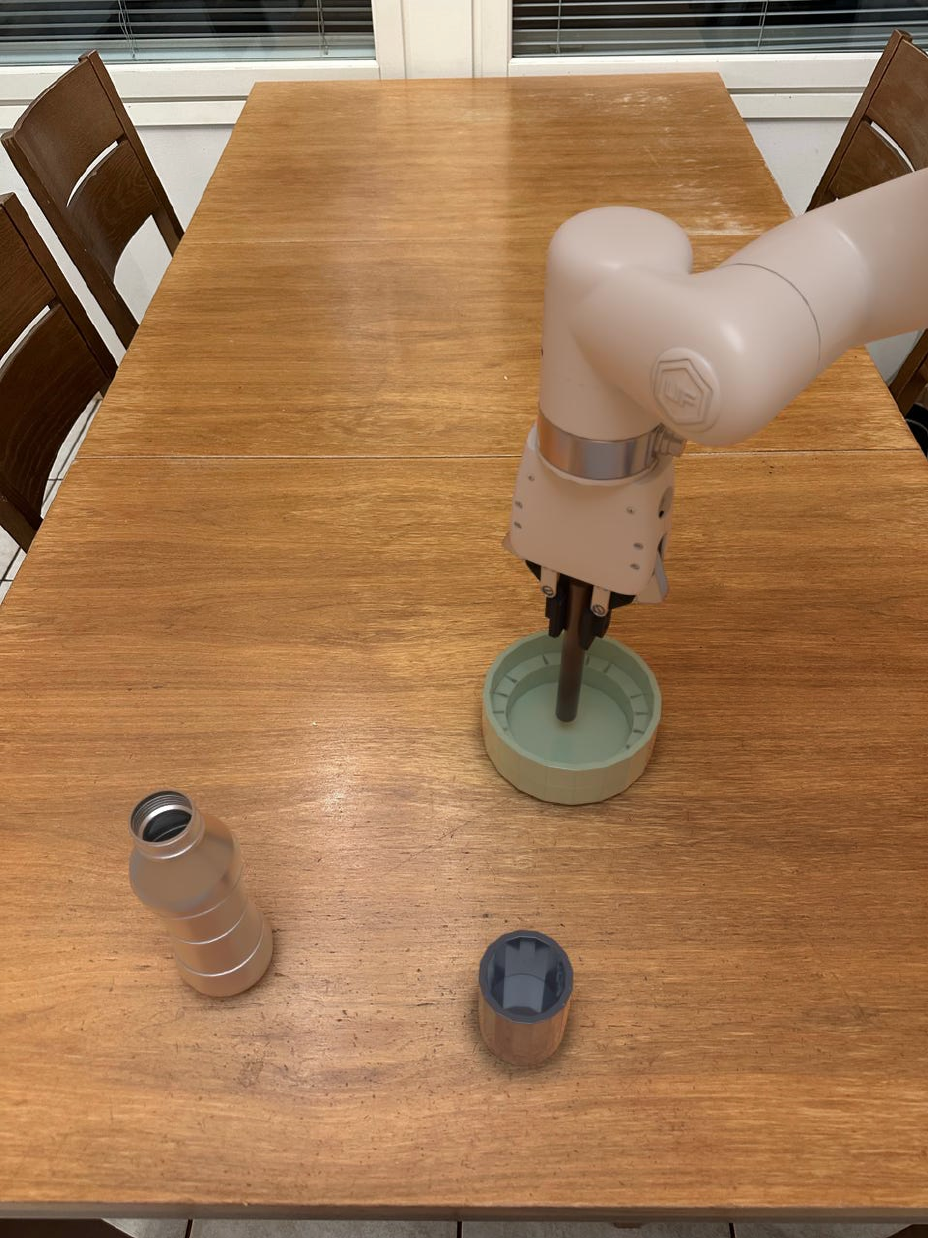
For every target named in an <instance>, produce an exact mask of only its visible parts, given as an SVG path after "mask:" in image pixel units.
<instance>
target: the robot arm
mask: <svg viewBox="0 0 928 1238" xmlns="http://www.w3.org/2000/svg"><path fill="white" fill-rule="evenodd" d="M690 240H691V239H690V238H689V236H688V234H687V232H686V231H685V230H684V229H683V228H682V227H681V226H680V225H679V224H677V222H676V221H674V220H673V219H671V218H670V217H668V216H666V215H664V214H662V213H660V212H657V211H654V210H651V209H646V208H641V207H637V206H628V205H626V206H625V205H607V206H599V207H594V208H590V209H587V210H583V211H581V212H578V213H577V214H575V215H573V216H571V217H569V218H568V219H566V220H565V221H564V222H563V223H562V224H561V225H560V226H559V227H558V228H557V229H556V231H555V232H554V234H553V235H552V237H551V240H550V242H549V245H548V248H547V254H546V263H545V274H544V275H545V277H544V295H543V311H542V326H541V327H542V328H541V329H542V330H541V344H540V345H541V346H540V362H539V363H540V364H539V381H538V382H539V383H538V397H537V398H538V400H537V418H536V420H535V422H534V423H533V426H532V427H531V429H530V431H528V434H527V437H526V440H525V443H524V447H523V449H522V452H521V457H520V460H519V464H518V469H517V472H516V476H515V477H516V478H515V483H514V487H513V493H512V499H511V506H510V507H511V508H510V514H509V529H508V531H507V533H506V535H505V536H504V538H503V539H502V541H501V546H502V547H503V548H504V550H506V551H508V552H509V553H510V554H511V555H513V556H514V557H516V558H518V559H519V560H521V561H525V566H527V568H528V569H529V571H530V572H531V573H532V574H533V575H534V576H535V578H536V579H537V580H538V581H539V585H540V587H539V590H540V592H541V594H542V595H544V596H545V607H544V608H545V611H544V617H545V618H547V619H549V622H548V630H549V631H548V636H550V637H553V638H556V637H559V636H560V634H561V632H562V631H563V629H564V623H565V613H566V603H567V594H568V584H569V576H571V577H573V578H576V579H579V580H582V581H585V582H587V583H590V584H593V585H594V588H593V595H592V598H591V600H590V602H589V603H588V605H587V606H586V608H585V610H584V611H583V614H582V621H581V629H580V637H579V646H580V648H581V649H584V650H586V651H588V649H589V648H590V646H591V644H592V642H593V641H594V639H595V637H599V638H601V639H602V638H603V637H604V635H606V633H607V631H608V630H609V626H610V623H611V618H612V611H613V610H615V609H618V608H622V607H625V606H627V605H631V604H632V603H633V602H636V603H638V604H648V605H661V604H663V603H664V601H665V599H666V598H667V595H668V593H669V591H670V585H669V582H668V578H667V573H666V571H665V567H664V563H663V562H664V561H665V558H666V556H667V552H668V549H669V545H670V540H671V535H672V527H673V516H674V505H675V488H676V487H675V485H676V476H675V475H676V472H675V459H674V458H675V457H676V458H679V459H680V458H681V457H682V456H683V455H684V452H685V449H686V446H687V443H688V441H690V442H693V443H696V444H699V445H701V446H704V447H709V448H710V447H711V448H725V447H731V446H732V447H733V446H735V445H737V444H740V443H744V442H745V441H747V440H749V439H751V438H752V437H754V436H755V435H756V434H758V433H759V432H761V431H762V430H763V429H764V428H765V427H767V426H768V425H770V423H771V422H772V421H773V420H774V419H775V418H777V416H779V415H780V414H781V413H782V412H783V411H784V410H785V409H786V408H787V407H788V406H789V405H790V404H792V403H793V402H794V400H795V399H797V398H798V397H799V396H800V395H801V394H802V393H803V392H804V391H805V390H806V389H807V388H808V387H809V386H810V385H811V384H813V383H814V382H815V381H816V380H817V379H818V378H819V377H820V376H821V375H822V374H823V373H824V372H825V371H826V370H827V369H829V368H830V367H831V366H832V365H833V364H834V363H836V361H837V360H839V359H840V358H841V357H842V356H843V355H844V354H845V353H846V352H848V351H851V350H853V349H856V348H858V347H861V346H863V345H867V344H870V343H873V342H874V343H875V342H878V341H881V340H886V339H889V338H893V337H896V336H897V337H898V336H901V335H904V334H908V333H914V332H917V331H921V330H926V329H928V166H927V167H923V168H921V169H918V170H915V171H913V172H910V173H907V174H904V175H901V176H898V177H895V178H893V179H890V180H888V181H885V182H883V183H880V184H878V185H874V186H870V187H868V188H867V189H863V190H861V191H859V192H856V193H853V194H850V195H849V196H845V197H842V198H840V199H837V200H834V201H832V202H829V203H826V204H824V205H822V206H819V207H817V208H814V209H812V210H811V209H810V210H809V211H806V212H804V213H802V214H799V215H797V216H795V217H792V218H790V219H788V220H786V221H784V222H782V223H780V224H778V225H776V226H774V227H772V228H771V229H769V230H768V231H766V232H764V233H763V234H761V235H759V236H758V237H757V238H755V239H754V240H752V241H750V242H748V244H746V245H745V246H743V247H742V248H741V249H738V250H737V252H735V253H734V254H732V255H731V256H730V257H728V258H727V259H725V260H724V261H722V262H721V263H720V264H718V265H717V266H716V267H714V268H713V269H710V270H705V271H701V272H696V273H693V270H694V269H693V268H694V249H693V246H692V243H691V241H690Z"/></svg>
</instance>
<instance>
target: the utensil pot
mask: <svg viewBox="0 0 928 1238" xmlns="http://www.w3.org/2000/svg"><path fill="white" fill-rule="evenodd" d="M477 982H478V983H477V984H478V985H477V988H478V990H477V991H478V993H477V994H478V997H477V998H478V1002H477V1003H478V1004H477V1005H478V1008H477V1009H478V1024H479V1025H478V1026H479V1031H480V1035H481V1038H482V1040H483V1042H484V1043H485V1046H486V1047H487V1048H488V1049H489V1051H490V1052H491V1053H492V1055H494V1056H496V1057H497V1058H498V1059H500V1060H501V1061H503V1062H505V1063H507V1064H511V1065H513V1066H521V1067H526V1066H533V1065H537V1064H539V1063H542V1062H544V1061H546V1060H547V1059H548V1058H550V1057H551V1056H552V1055H553V1054H554V1053H555V1052H556V1050H557V1049H558V1048H559V1046H560V1045H561V1043H562V1040H563V1038H564V1033H565V1028H566V1026H567V1022H568V1016H569V1012H570V1007H571V1002H572V995H573V991H574V969H573V966H572V964H571V961H570V957H569V955H568V953H567V952H566V951H565V949H564V948H563V947H562V946H561V945H560V944H559V943H558V941H556V940H555V939H554V938H552V937H550V936H548V935H546V934H544V933H542V932H540V931H538V930H530V929H515V930H514V931H510V932H507V933H504V934H501V935H500V936H499V937H498V938H496V939H495V940H494V941H492V942H491V943H490V944H488V946H487V948H486V950H485V951H484V954H483V955H482V957H481V958H480V961H479V967H478V979H477Z"/></svg>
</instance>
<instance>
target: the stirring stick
mask: <svg viewBox="0 0 928 1238" xmlns="http://www.w3.org/2000/svg"><path fill="white" fill-rule="evenodd" d="M593 588H594V585H593V584H590V583H587V582H585V581H582V580H579V579H576V578H573V577H571V576H569V584H568V594H567V603H566V613H565V623H564V632H563V642H562V651H561V661H560V671H559V680H558V690H557V700H556V709H555V715H556V717H557V718H558V719H559V720H560V721H562V722H571V721H573V720H574V719H575V718H576V717H577V711H578V704H579V696H580V689H581V681H582V674H583V666H584V659H585V651H586V650H584V649H581V648H580V646H579V637H580V629H581V621H582V614H583V611H584V610H585V608H586V606H587V605H588V603H589V602H590V600H591V598H592V595H593Z"/></svg>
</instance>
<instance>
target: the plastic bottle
mask: <svg viewBox="0 0 928 1238" xmlns="http://www.w3.org/2000/svg"><path fill="white" fill-rule="evenodd" d="M127 827H128V832H129V834H130V836H131V838H132V841H133V842H132V843H133V844H134V845H133V846H132V849H131V852H130V855H129V859H128V860H129V861H128V880H129V885H130V887H131V888H130V889H132V892H133V894H134V895H135V896H136V897H137V899H138V900H139V902H141V904H142V905H143V906H144V907H145V908H146V909H147V910H148V911H150V913H151V914H152V915H153V916H155V917H156V919H158V920H159V921H160V923H161V924H162V926H163V927H164V928H165V930H166V932H167V933H168V935H169V938H170V939H169V940H170V942H171V944H172V954H173V959H174V962H175V964H174V965H175V967H176V969H177V971H178V974H179V976H180V977H181V978H182V980H183V981H184V982H185V983H186V984H188V985H189V987H190V986H191V987H192V988H193V989H195V991H197V992H199V993H201V994H203V995H205V996H210V997H214V998H225V997H231V996H234V995H238V994H240V993H243V992H245V991H246V990H248V989H250V988H251V987H252V986H254V985H255V984H256V983H258V982H259V980H260V979H261V978H262V977H263V976H264V975H265V973H266V971H267V969H268V968H269V966H270V963H271V961H272V957H273V951H274V936H273V934H274V933H273V930H272V927H271V923H270V922H269V920H268V918H267V917H266V916H265V914H264V913H263V911H262V910H261V908H259V907H258V905H256V904H255V903H254V902H253V900H252V898H251V896H250V895H249V893H248V890H247V887H246V883H245V878H244V867H243V866H244V864H243V854H242V850H241V845H240V841H239V839H238V837H237V835H236V834H235V831H233V830H232V828H231V827H230V826H229V825H227V824H226V823H225V822H224V821H223V820H221V819H220V818H218V817H217V816H215V815H212V814H211V813H208V812H203V811H200V809H199V807H197V806H196V803H195V802H194V800H193V799H192V798H191V797H190V795H188V794H187V793H186V792H184V791H182V790H179V789H174V788H163V789H157V790H154V791H152V792H149V793H148V794H146V795H144V796H142V797H141V798H140V799H139V800H137V802H136V803H135V804H134V805H133V806H132V808H131V810H130V812H129V814H128V818H127Z"/></svg>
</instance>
